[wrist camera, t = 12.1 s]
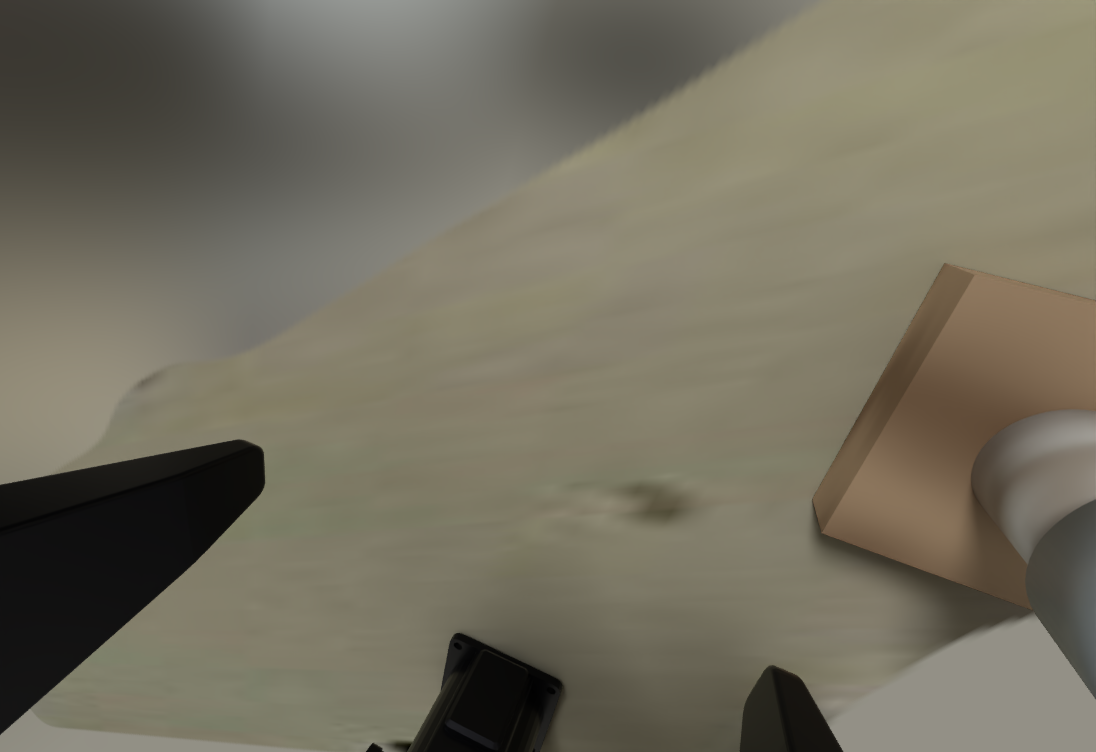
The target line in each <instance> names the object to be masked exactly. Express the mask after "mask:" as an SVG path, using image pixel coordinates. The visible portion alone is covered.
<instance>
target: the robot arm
mask: <svg viewBox="0 0 1096 752" xmlns="http://www.w3.org/2000/svg"><path fill="white" fill-rule="evenodd" d="M264 485H265V466H264V452H263V450H262V448H261V447H259V446H257V445H255V444H253V443H250V442H248V441H246V440H232V441H227V442H222V443H217V444H211V445H206V446H201V447H196V448H191V449H185V450H180V451H175V452H170V453H164V454H159V455H154V456H149V457H143V458H138V459H133V460H128V461H122V462H117V463H112V464H107V465H102V466H96V467H91V468H86V469H81V470H75V471H70V472H65V473H60V474H54V475H49V476H44V477H39V478H34V479H29V480H23V481H18V482H13V483H8V484H2V485H0V735H1V734H2V733H3V732H4V731H5V730H6V729H7V728H9V727H10V726H11V725H12V724H13V723H14V722H15V721H16V720H18V719H19V718H20V717H21V716H22V715H23V714H24V713H25V712H27V711H28V710H29V709H30V708H31V707H32V706H33V705H35V704H36V703H37V702H38V701H39V700H40V699H41V698H43V697H44V696H45V695H46V694H47V693H48V692H49V691H50V690H52V689H53V688H54V687H55V686H56V685H57V684H58V683H60V682H61V681H62V680H63V679H64V678H65V677H66V676H67V675H69V674H70V673H71V672H72V671H73V670H74V669H75V668H77V667H78V666H79V665H80V664H81V663H82V662H83V661H84V660H86V659H87V658H88V657H89V656H90V655H91V654H92V653H93V652H95V651H96V650H97V649H98V648H99V647H100V646H101V645H103V644H104V643H105V642H106V641H107V640H108V639H109V638H110V637H112V636H113V635H114V634H115V633H116V632H117V631H118V630H120V629H121V628H122V627H123V626H124V625H125V624H126V623H127V622H129V621H130V620H131V619H132V618H133V617H134V616H135V615H137V614H138V613H139V612H140V611H141V610H142V609H143V608H144V607H146V606H147V605H148V604H149V603H150V602H151V601H152V600H154V599H155V598H156V597H157V596H158V595H159V594H160V593H161V592H163V591H164V590H165V589H166V588H167V587H168V586H169V585H171V584H172V583H173V582H174V581H175V580H176V579H177V578H178V577H180V576H181V575H182V574H183V573H184V572H185V571H186V570H187V569H188V568H189V567H191V566H192V565H193V564H194V563H195V562H196V561H197V560H198V559H199V558H200V557H201V556H202V555H203V554H204V553H205V552H206V551H207V550H208V549H209V548H210V547H211V546H212V545H213V544H214V542H215V541H216V540H217V539H218V538H219V537H220V536H221V535H222V534H223V533H224V532H225V531H226V530H227V529H228V528H229V527H230V526H231V525H232V524H233V523H234V522H235V520H236V519H237V518H238V517H239V516H240V515H241V514H242V513H243V512H244V511H245V510H246V509H247V508H248V507H249V506H250V505H251V504H252V503H253V502H254V501H255V500H256V499H257V497H258V496H259V495H260V494H261V492H262V491H263V488H264ZM561 690H562V684H561V682H560V681H559V680H557V679H556V678H554V677H552V676H550V675H548V674H546V673H543V672H541V671H539V670H537V669H535V668H533V667H531V666H529V665H527V664H524V663H522V662H520V661H518V660H516V659H514V658H512V657H510V656H507V655H505V654H503V653H501V652H499V651H497V650H495V649H493V648H491V647H488V646H486V645H484V644H482V643H480V642H478V641H476V640H474V639H472V638H469V637H467V636H465V635H463V634H460V633H456V634H454V636H453V637H452V639H451V641H450V644H449V649H448V654H447V660H446V665H445V670H444V676H443V681H442V686H441V692H440V694H439V696H438V697H437V699H436V701H435V703H434V705H433V706H432V708H431V710H430V712H429V714H428V716H427V717H426V719H425V721H424V723H423V725H422V726H421V728H420V730H419V732H418V734H417V735H416V737H415V739H414V741H413V743H412V745H411V746H410V748H409V750H408V752H540V749H541V746H542V744H543V741H544V738H545V735H546V732H547V730H548V727H549V724H550V721H551V718H552V716H553V713H554V710H555V707H556V704H557V702H558V699H559V696H560V693H561ZM382 749H383V748H381V747H380V746H378V745H376V744H374V743H372V744H371V746H370V747H369V748H368V750H367V751H366V752H383V751H382ZM740 752H843V750H842V749H841V747H840V745H839V743H838V742H837V740H836V738H835V736H834V735H833V733H832V731H831V730H830V728H829V726H828V724H827V722H826V721H825V719H824V717H823V715H822V714H821V712H820V710H819V708H818V707H817V705H816V703H815V701H814V700H813V698H812V696H811V694H810V693H809V691H808V689H807V687H806V686H805V684H804V682H803V681H802V680H801V679H800V678H799V677H798V676H797V675H795V674H793V673H790V672H788V671H786V670H783V669H781V668H779V667H776V666H773V665H771V666H768V667H767V668H766V669H765V670H764V672H763V673H762V675H761V677H760V678H759V680H758V681H757V683H756V685H755V686H754V688H753V689H752V691H751V693H750V694H749V696H748V698H747V700H746V703H745V706H744V711H743V720H742V732H741V743H740Z"/></svg>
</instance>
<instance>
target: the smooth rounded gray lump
mask: <svg viewBox="0 0 1096 752" xmlns="http://www.w3.org/2000/svg"><path fill="white" fill-rule="evenodd" d="M1025 585H1026V592H1027V596H1028V599H1029V602H1030V605H1031V607H1032V609H1033V610H1034V612H1035V614H1036V616H1037V617H1038V618H1039V620H1040V621H1041V623H1042V624H1043V626H1044V627H1045V628H1046V630H1047V631H1048V633H1049V634H1050V635H1051V637H1052V638H1053V640H1054V641H1055V642H1056V644H1057V645H1058V647H1059V648H1060V649H1061V651H1062V652H1063V654H1064V655H1065V657H1066V658H1067V659H1068V661H1069V662H1070V664H1071V665H1072V666H1073V668H1074V669H1075V671H1076V672H1077V673H1078V675H1079V676H1080V678H1081V679H1082V681H1083V682H1084V683H1085V685H1086V686H1087V688H1088V689H1089V690H1090V692H1091V693H1092V694H1093V696H1094V697H1095V699H1096V499H1095V500H1093V501H1091V502H1089V503H1087V504H1085V505H1083V506H1081V507H1079V508H1078V509H1076V510H1074V511H1073V512H1071V513H1069V514H1068V515H1067V516H1065V517H1064V518H1063V519H1061V520H1060V521H1059V522H1057V523H1056V524H1055V525H1054V526H1053V527H1052V528H1051V529H1050V530H1049V531H1048V532H1047V533H1046V534H1045V535H1044V536H1043V537H1042V539H1041V540H1040V541H1039V543H1038V544H1037V545H1036V547H1035V549H1034V551H1033V553H1032V555H1031V557H1030V559H1029V562H1028V566H1027V569H1026V578H1025Z"/></svg>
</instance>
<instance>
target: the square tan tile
mask: <svg viewBox="0 0 1096 752" xmlns="http://www.w3.org/2000/svg"><path fill="white" fill-rule="evenodd" d="M1095 499H1096V301H1095V300H1091V299H1087V298H1083V297H1079V296H1075V295H1071V294H1067V293H1063V292H1059V291H1055V290H1051V289H1047V288H1043V287H1039V286H1035V285H1031V284H1027V283H1023V282H1019V281H1015V280H1010V279H1006V278H1002V277H998V276H994V275H990V274H986V273H982V272H978V271H974V270H970V269H966V268H962V267H958V266H954V265H950V264H946V263H944V265H943V267H942V269H941V271H940V272H939V274H938V276H937V278H936V280H935V281H934V283H933V285H932V287H931V288H930V290H929V292H928V294H927V296H926V297H925V299H924V301H923V303H922V304H921V306H920V308H919V310H918V312H917V313H916V315H915V317H914V319H913V321H912V322H911V324H910V326H909V328H908V329H907V331H906V333H905V335H904V337H903V338H902V340H901V342H900V344H899V346H898V347H897V349H896V351H895V353H894V354H893V356H892V358H891V360H890V362H889V363H888V365H887V367H886V369H885V370H884V372H883V374H882V376H881V378H880V379H879V381H878V383H877V385H876V387H875V388H874V390H873V392H872V394H871V395H870V397H869V399H868V401H867V403H866V404H865V406H864V408H863V410H862V412H861V413H860V415H859V417H858V419H857V420H856V422H855V424H854V426H853V428H852V429H851V431H850V433H849V435H848V436H847V438H846V440H845V442H844V444H843V445H842V447H841V449H840V451H839V453H838V454H837V456H836V458H835V460H834V461H833V463H832V465H831V467H830V469H829V470H828V472H827V474H826V476H825V478H824V479H823V481H822V483H821V485H820V486H819V488H818V490H817V492H816V494H815V495H814V497H813V499H812V500H813V503H814V507H815V511H816V514H817V518H818V522H819V525H820V529H821V533H823V534H825V535H828V536H831V537H834V538H836V539H839V540H842V541H844V542H847V543H850V544H853V545H855V546H858V547H861V548H864V549H866V550H869V551H872V552H874V553H877V554H880V555H883V556H885V557H888V558H891V559H894V560H896V561H899V562H902V563H905V564H907V565H910V566H913V567H915V568H918V569H921V570H924V571H926V572H929V573H932V574H935V575H937V576H940V577H943V578H946V579H948V580H951V581H954V582H956V583H959V584H962V585H965V586H967V587H970V588H973V589H976V590H978V591H981V592H984V593H986V594H989V595H992V596H995V597H997V598H1000V599H1003V600H1006V601H1008V602H1011V603H1014V604H1017V605H1019V606H1022V607H1025V608H1027V609H1030V610H1033V609H1032V607H1031V605H1030V602H1029V599H1028V596H1027V592H1026V585H1025V578H1026V569H1027V566H1028V562H1029V559H1030V557H1031V555H1032V553H1033V551H1034V549H1035V547H1036V545H1037V544H1038V543H1039V541H1040V540H1041V539H1042V537H1043V536H1044V535H1045V534H1046V533H1047V532H1048V531H1049V530H1050V529H1051V528H1052V527H1053V526H1054V525H1055V524H1056V523H1057V522H1059V521H1060V520H1061V519H1063V518H1064V517H1065V516H1067V515H1068V514H1069V513H1071V512H1073V511H1074V510H1076V509H1078V508H1079V507H1081V506H1083V505H1085V504H1087V503H1089V502H1091V501H1093V500H1095ZM1033 611H1034V610H1033Z"/></svg>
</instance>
